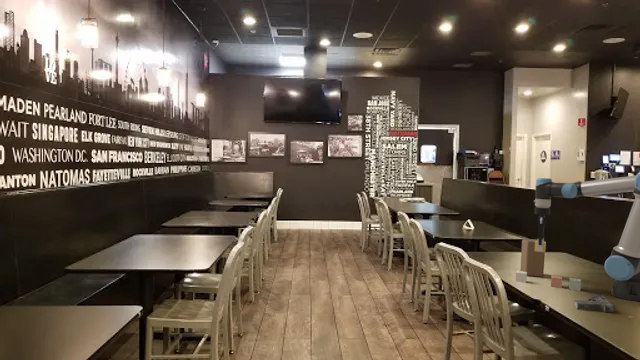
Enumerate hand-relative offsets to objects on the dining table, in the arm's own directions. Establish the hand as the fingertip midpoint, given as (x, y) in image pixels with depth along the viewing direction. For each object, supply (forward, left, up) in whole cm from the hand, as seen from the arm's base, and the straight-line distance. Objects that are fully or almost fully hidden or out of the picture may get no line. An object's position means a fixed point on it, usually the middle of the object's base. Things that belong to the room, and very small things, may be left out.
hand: (540, 250), depth 243 cm
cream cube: (+6, +7, -18) cm, 20 cm away
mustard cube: (0, 0, 0) cm, 0 cm away
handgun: (-37, +8, -18) cm, 42 cm away
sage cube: (-14, -10, -18) cm, 25 cm away
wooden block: (+16, -12, -18) cm, 27 cm away
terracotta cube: (-7, -4, -18) cm, 20 cm away
